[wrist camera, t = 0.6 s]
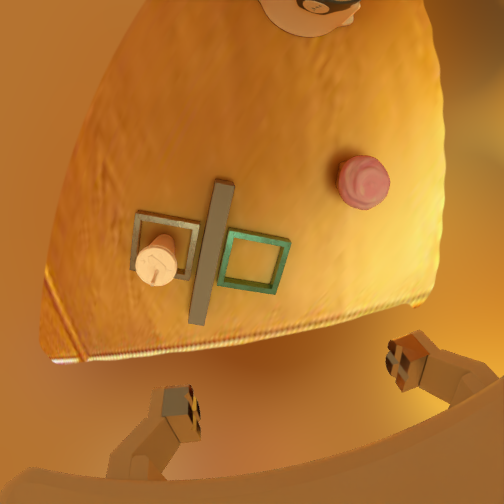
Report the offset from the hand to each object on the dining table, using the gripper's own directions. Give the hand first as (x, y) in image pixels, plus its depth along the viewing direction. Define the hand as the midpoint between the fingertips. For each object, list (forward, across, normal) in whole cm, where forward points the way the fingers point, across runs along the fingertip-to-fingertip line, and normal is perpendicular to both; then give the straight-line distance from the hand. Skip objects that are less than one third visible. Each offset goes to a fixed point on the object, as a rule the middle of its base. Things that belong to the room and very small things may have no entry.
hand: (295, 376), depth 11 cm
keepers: (+43, +6, +10) cm, 44 cm away
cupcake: (+42, -21, +1) cm, 47 cm away
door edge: (+43, +6, +10) cm, 44 cm away
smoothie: (+43, +13, +8) cm, 45 cm away
